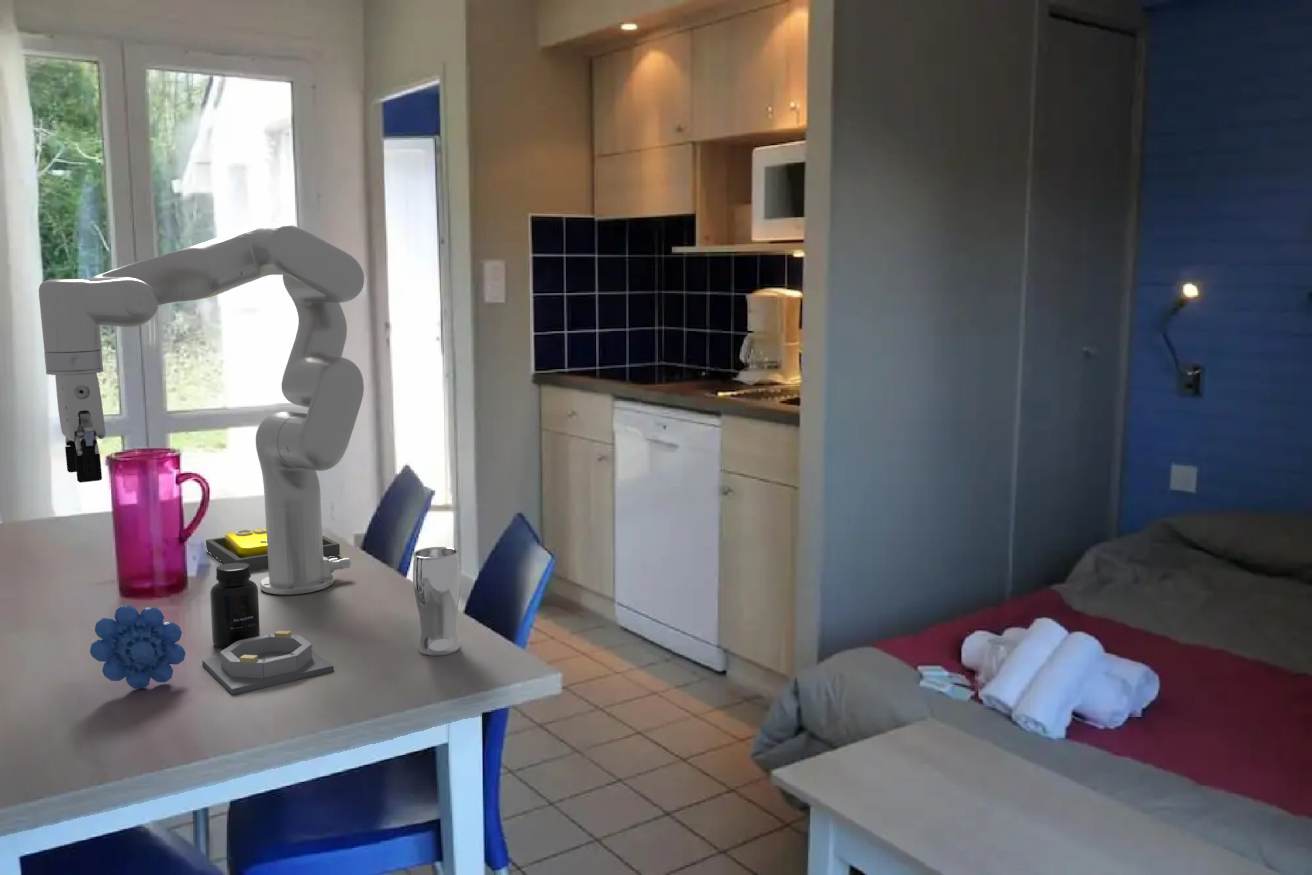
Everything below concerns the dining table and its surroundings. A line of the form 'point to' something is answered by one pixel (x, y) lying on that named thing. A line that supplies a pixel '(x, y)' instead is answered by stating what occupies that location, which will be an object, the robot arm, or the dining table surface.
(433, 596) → the beer glass
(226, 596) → the supplement bottle
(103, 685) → the dining table surface
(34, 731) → the dining table surface
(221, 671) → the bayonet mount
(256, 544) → the element tile
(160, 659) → the blue petal flower
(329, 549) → the shallow dark tray
